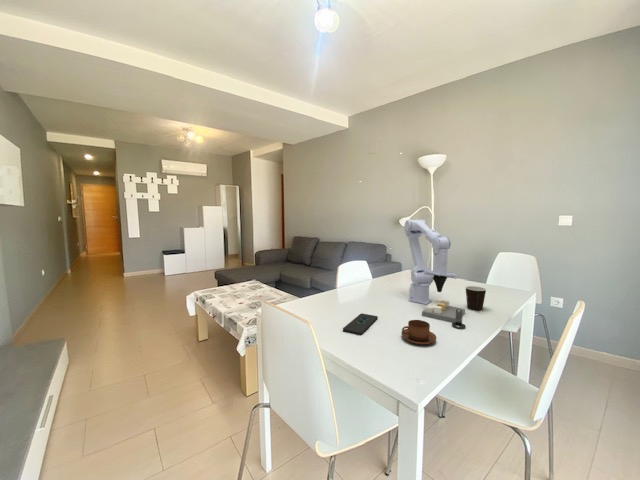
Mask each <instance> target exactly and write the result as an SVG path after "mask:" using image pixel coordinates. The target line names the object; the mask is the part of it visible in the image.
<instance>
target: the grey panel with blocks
mask: <svg viewBox="0 0 640 480" xmlns="http://www.w3.org/2000/svg"><path fill="white" fill-rule="evenodd" d="M438 303H443V304H446V310H444V311H443V310H442V307H439V306H437V304H438ZM456 309H461V310H463V311H462V317H463V316H464V315H465V314H466V308H462V307H457V306H453V305H450V301H449V300H444V299H442V300H439V299H435V300H433V301H432V302H429V303H428V305H427V304H426V306H425V307H424V309H423V310H422V311H421V316H422V317H426V318H430V319H435V320H439V321H442V322H443V321H444V322H448V323H451V324H452V323H455V320H456Z"/></svg>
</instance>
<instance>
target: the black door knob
mask: <svg viewBox="0 0 640 480" xmlns="http://www.w3.org/2000/svg"><path fill="white" fill-rule="evenodd" d="M462 311H463V310H461V309H456V320H455V323H451V328H454V329H457V330H465V329H466V324H464V323H463V316H462Z"/></svg>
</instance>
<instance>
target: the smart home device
mask: <svg viewBox="0 0 640 480" xmlns="http://www.w3.org/2000/svg"><path fill="white" fill-rule="evenodd" d="M378 319H379V317H378V316H377V315H373V314H367V313H364V312H363V313H359V314H358V315H357V316H356V317H355V318H353V319H352V320H351V321H350V322H348V323H347V324H346V325H345V326H343V327H342V332H343V333H346V334H352V335H357V336H362V335H364V334H365V333H366V332H367V331H368V330H369V329H370V328H371V326H373V325H374V323H376V322H377V320H378Z"/></svg>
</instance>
